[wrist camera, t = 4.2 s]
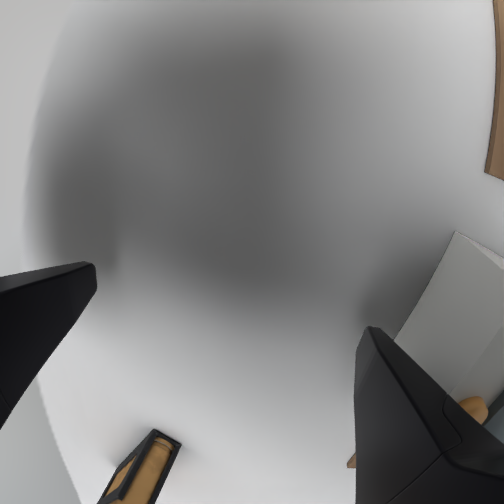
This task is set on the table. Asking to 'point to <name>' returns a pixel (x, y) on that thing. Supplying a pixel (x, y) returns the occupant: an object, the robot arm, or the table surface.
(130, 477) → the ammunition clip
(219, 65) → the table surface
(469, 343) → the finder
